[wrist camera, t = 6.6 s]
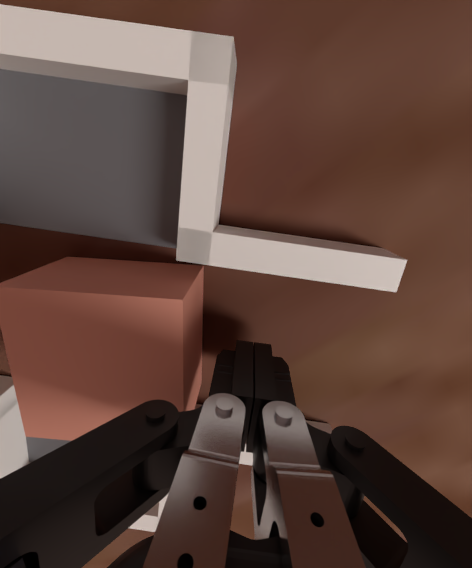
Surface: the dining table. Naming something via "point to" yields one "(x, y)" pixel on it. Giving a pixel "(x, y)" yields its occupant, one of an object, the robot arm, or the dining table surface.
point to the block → (101, 340)
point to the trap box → (136, 164)
